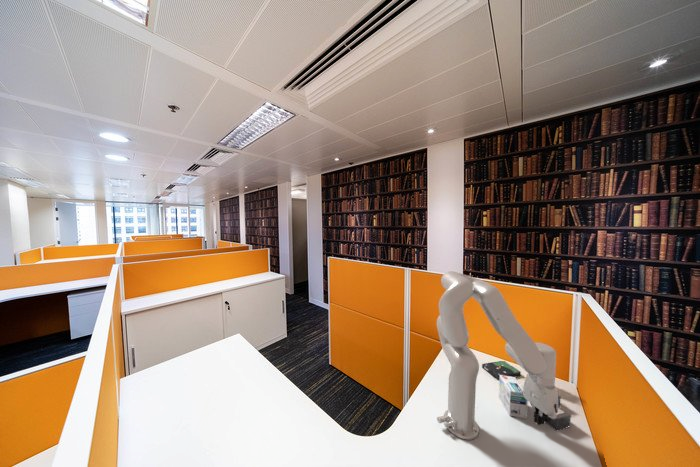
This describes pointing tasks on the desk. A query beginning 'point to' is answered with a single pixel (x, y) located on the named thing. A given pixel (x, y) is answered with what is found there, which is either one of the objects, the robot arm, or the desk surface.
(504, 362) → the disk drive
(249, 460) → the desk surface
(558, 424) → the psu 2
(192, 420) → the desk surface
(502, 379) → the light bulb box
